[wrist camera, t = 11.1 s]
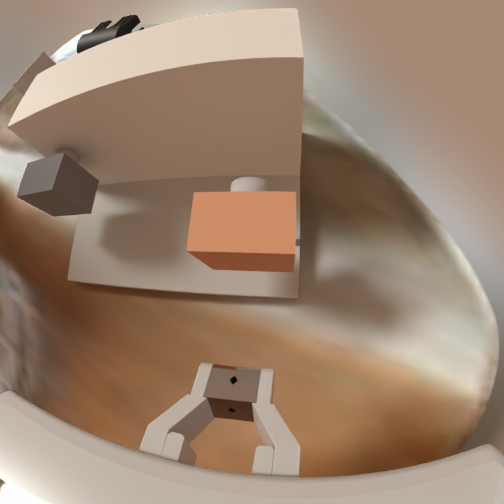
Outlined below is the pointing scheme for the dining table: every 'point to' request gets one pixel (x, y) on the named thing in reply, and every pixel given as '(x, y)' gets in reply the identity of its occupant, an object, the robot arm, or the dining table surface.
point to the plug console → (174, 141)
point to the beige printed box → (33, 72)
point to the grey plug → (59, 185)
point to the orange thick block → (244, 227)
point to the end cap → (107, 32)
